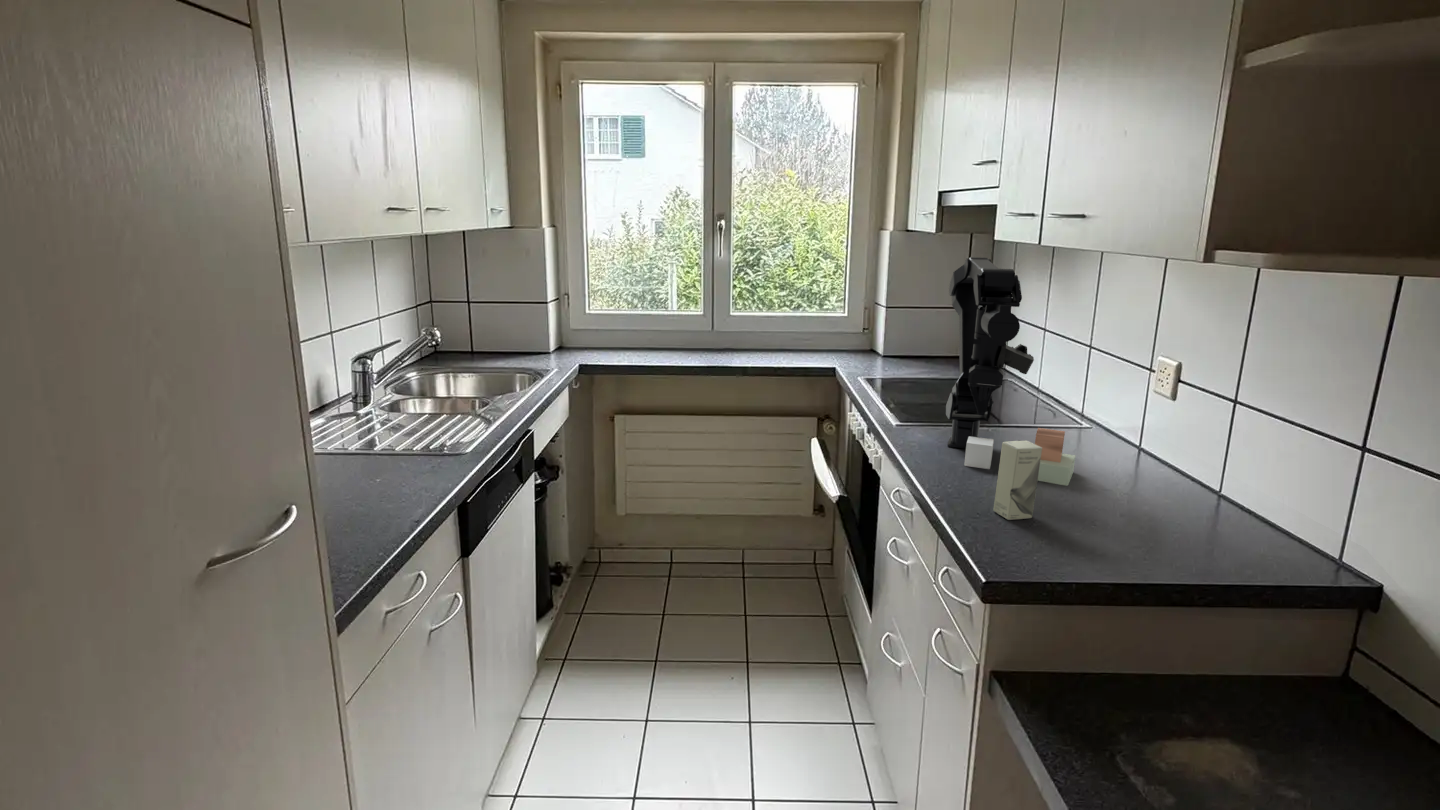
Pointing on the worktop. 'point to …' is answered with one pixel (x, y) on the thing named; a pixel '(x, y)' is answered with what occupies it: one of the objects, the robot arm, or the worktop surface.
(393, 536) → the worktop surface
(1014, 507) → the box
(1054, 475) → the sage base block
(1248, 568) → the worktop surface
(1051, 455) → the terracotta cube
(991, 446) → the grey cube
